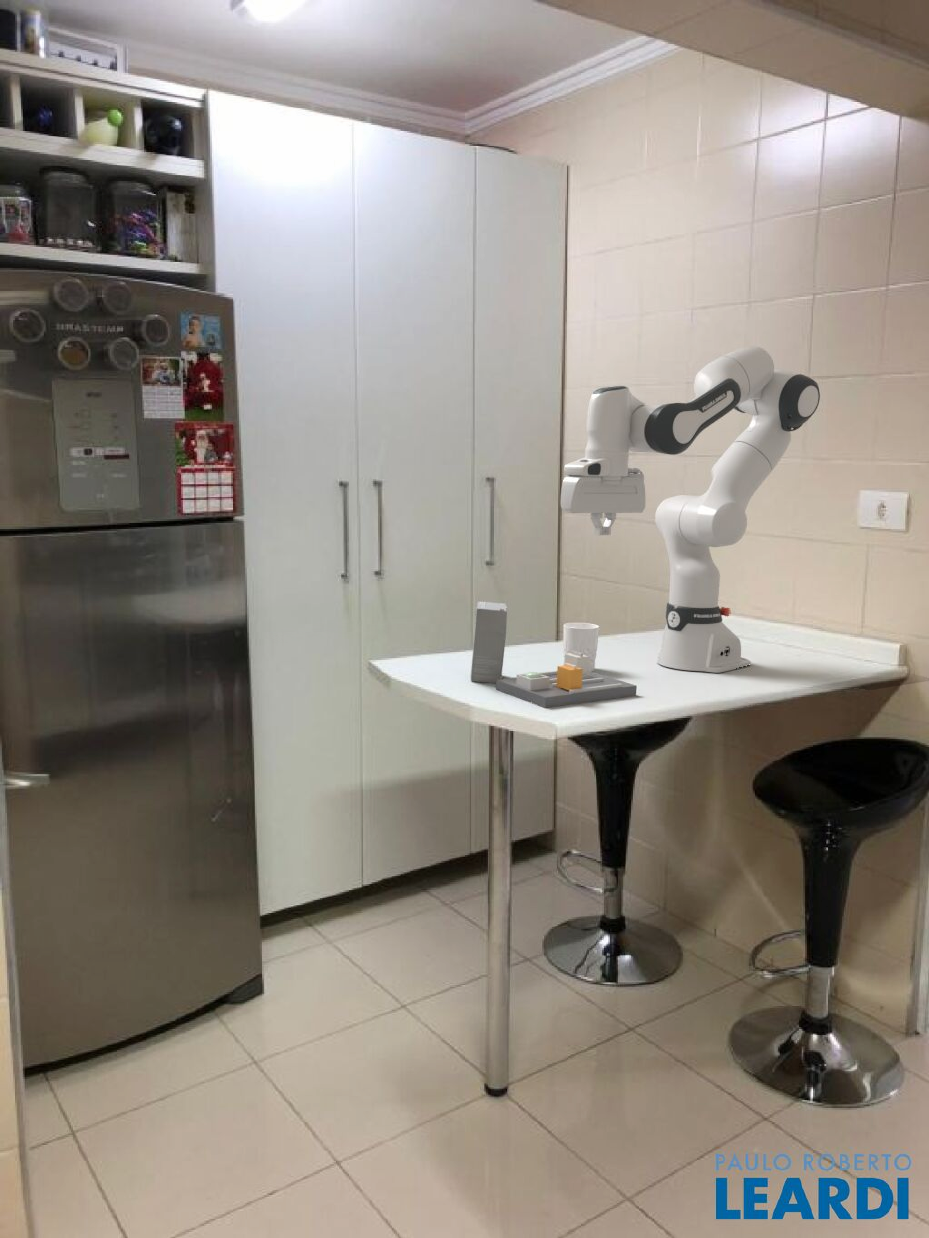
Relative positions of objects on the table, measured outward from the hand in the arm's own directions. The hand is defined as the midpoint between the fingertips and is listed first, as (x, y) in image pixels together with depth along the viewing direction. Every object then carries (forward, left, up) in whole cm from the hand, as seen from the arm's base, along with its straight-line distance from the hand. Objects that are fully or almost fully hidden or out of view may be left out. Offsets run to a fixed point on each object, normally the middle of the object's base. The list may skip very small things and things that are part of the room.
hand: (602, 535), depth 206 cm
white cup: (-5, -11, -31) cm, 33 cm away
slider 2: (+15, +9, -29) cm, 34 cm away
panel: (+12, +5, -31) cm, 33 cm away
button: (+20, +5, -28) cm, 35 cm away
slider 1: (+6, 0, -29) cm, 30 cm away
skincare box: (+19, -12, -31) cm, 38 cm away
